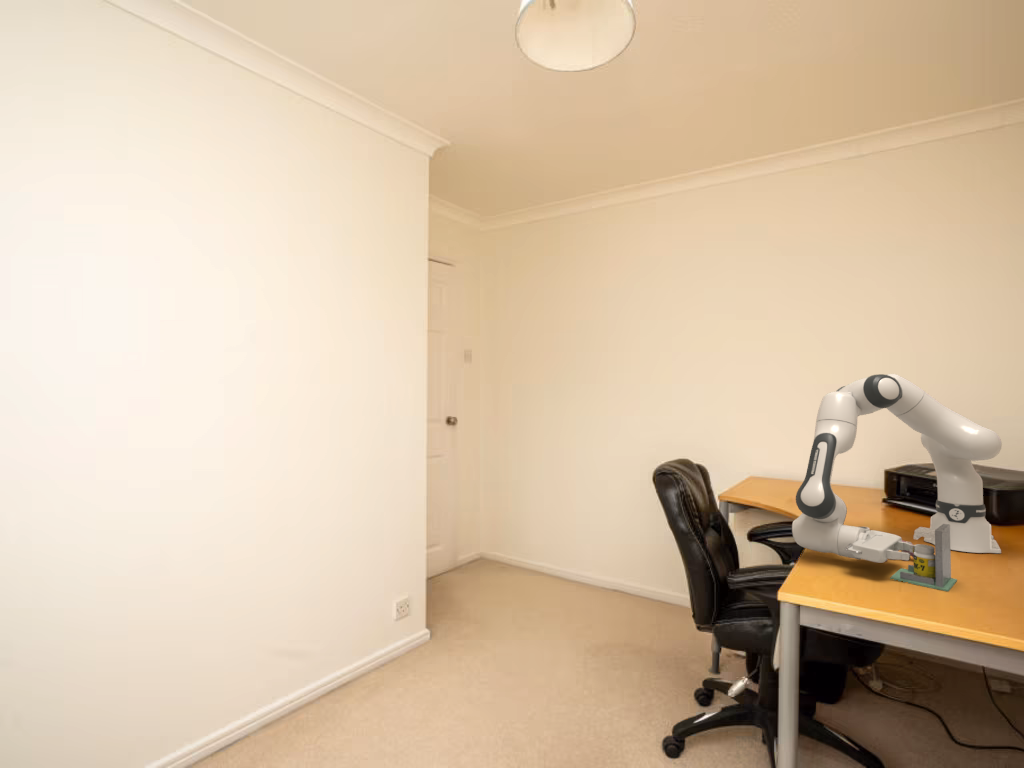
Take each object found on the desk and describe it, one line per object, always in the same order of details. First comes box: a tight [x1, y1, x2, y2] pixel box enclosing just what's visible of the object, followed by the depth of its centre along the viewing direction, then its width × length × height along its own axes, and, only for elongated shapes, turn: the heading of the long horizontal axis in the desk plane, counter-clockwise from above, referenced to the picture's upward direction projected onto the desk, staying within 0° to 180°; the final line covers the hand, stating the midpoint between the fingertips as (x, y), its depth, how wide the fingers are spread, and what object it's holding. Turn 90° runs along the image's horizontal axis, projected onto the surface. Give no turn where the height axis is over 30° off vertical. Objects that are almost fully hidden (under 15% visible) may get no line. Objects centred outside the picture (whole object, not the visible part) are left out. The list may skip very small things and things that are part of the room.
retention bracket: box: [900, 524, 952, 588], centre depth 139 cm, size 10×9×14 cm
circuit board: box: [889, 567, 958, 592], centre depth 140 cm, size 11×12×1 cm
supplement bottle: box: [913, 543, 936, 581], centre depth 139 cm, size 5×5×8 cm
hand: (914, 553), depth 141 cm, fingers open, 8 cm apart
